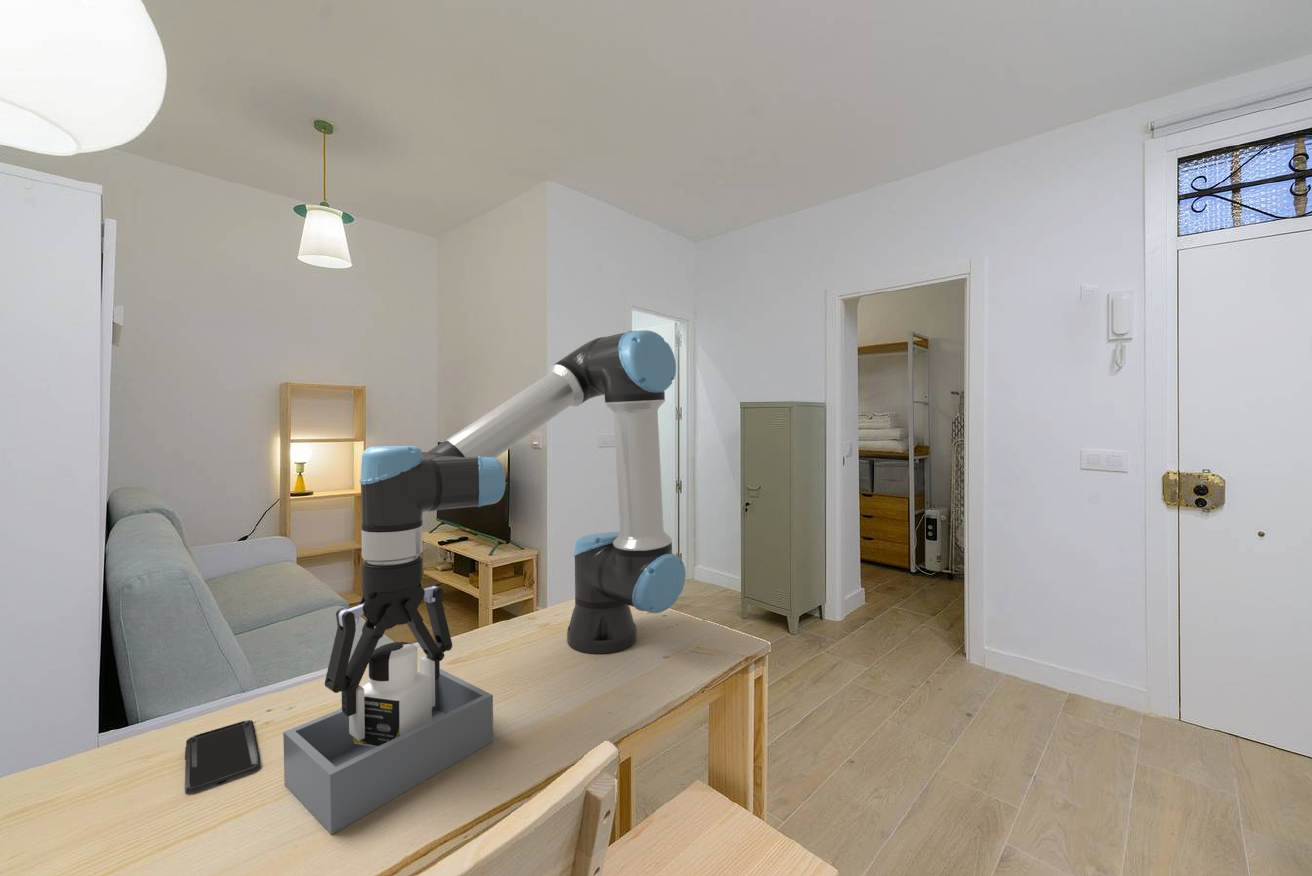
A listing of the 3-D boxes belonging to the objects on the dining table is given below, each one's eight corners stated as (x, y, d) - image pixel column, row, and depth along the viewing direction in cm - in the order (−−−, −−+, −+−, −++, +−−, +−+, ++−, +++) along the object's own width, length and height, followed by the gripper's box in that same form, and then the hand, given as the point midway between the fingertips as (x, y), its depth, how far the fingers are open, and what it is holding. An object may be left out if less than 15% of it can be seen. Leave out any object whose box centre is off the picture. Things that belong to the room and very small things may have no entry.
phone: (252, 718, 83) (261, 764, 71) (252, 725, 83) (261, 773, 71) (185, 738, 77) (183, 791, 66) (185, 745, 77) (183, 800, 66)
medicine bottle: (352, 744, 70) (351, 656, 70) (389, 715, 77) (388, 635, 77) (399, 751, 69) (398, 661, 68) (432, 721, 76) (432, 639, 75)
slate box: (440, 710, 86) (439, 668, 86) (493, 741, 78) (492, 694, 78) (284, 784, 68) (283, 732, 68) (331, 834, 60) (330, 775, 60)
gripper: (449, 540, 83) (450, 680, 84) (290, 570, 66) (293, 747, 66) (477, 547, 79) (478, 694, 79) (315, 581, 61) (318, 771, 62)
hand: (394, 718), depth 73 cm, fingers closed on medicine bottle, 9 cm apart
